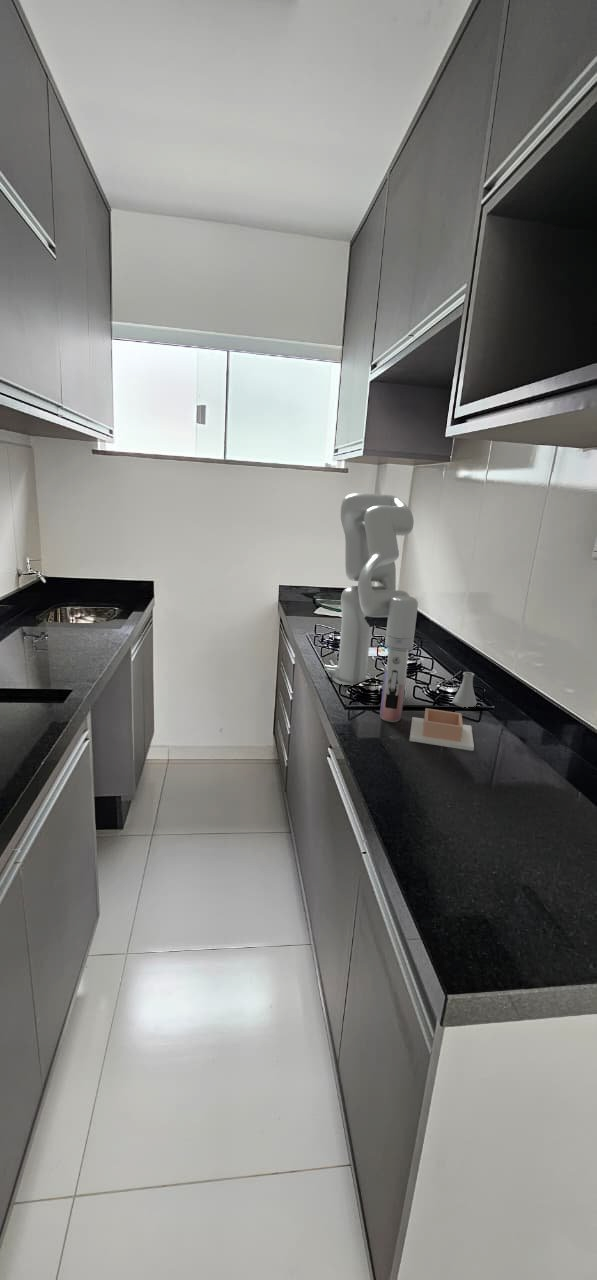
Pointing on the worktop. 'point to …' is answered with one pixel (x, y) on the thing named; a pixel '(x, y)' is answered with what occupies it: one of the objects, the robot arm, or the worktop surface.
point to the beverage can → (395, 714)
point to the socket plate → (442, 730)
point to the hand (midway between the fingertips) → (391, 703)
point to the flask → (466, 692)
